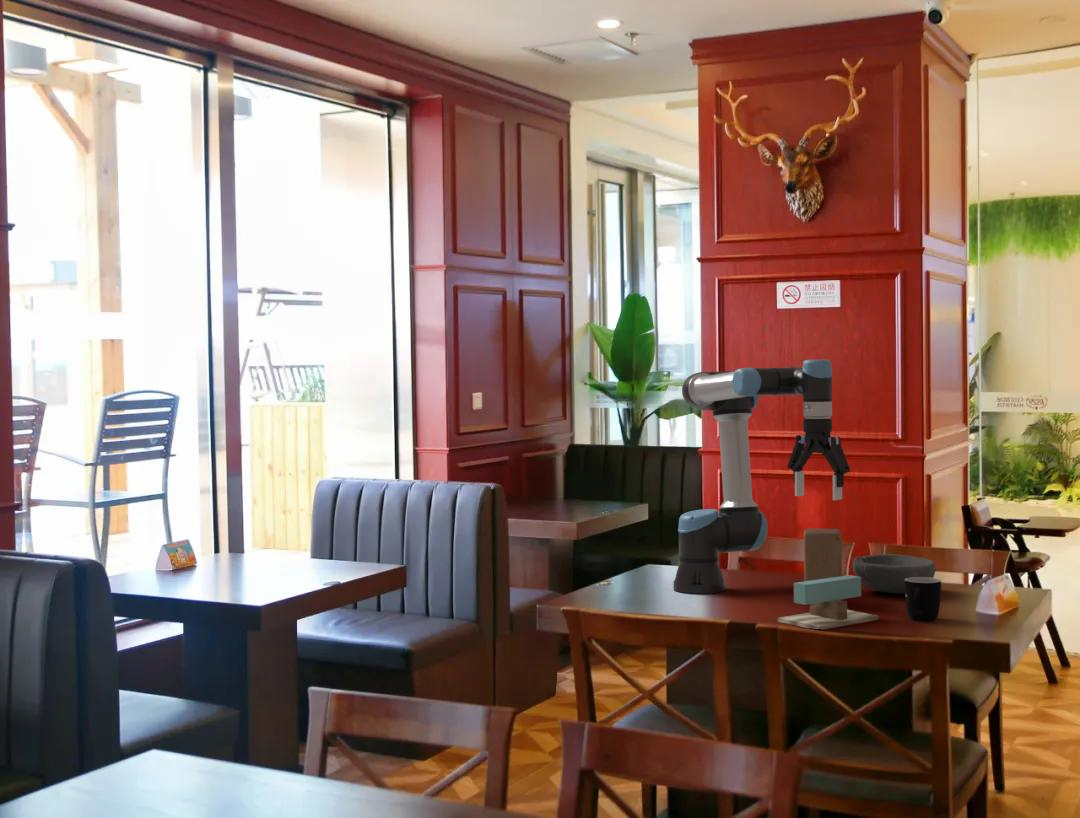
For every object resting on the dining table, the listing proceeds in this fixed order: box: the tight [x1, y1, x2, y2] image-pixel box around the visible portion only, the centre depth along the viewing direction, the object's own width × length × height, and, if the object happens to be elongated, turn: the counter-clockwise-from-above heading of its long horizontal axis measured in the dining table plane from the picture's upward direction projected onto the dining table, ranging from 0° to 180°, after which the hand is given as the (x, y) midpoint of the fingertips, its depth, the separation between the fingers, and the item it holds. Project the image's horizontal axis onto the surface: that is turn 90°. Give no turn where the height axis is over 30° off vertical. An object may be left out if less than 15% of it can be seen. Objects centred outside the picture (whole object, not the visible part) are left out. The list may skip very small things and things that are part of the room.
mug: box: [904, 577, 942, 622], centre depth 321 cm, size 12×9×10 cm
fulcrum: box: [777, 599, 880, 630], centre depth 322 cm, size 14×22×6 cm, turn 124°
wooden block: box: [803, 528, 843, 606], centre depth 348 cm, size 10×10×20 cm
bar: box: [793, 574, 862, 606], centre depth 322 cm, size 4×20×5 cm, turn 123°
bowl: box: [851, 553, 937, 595], centre depth 361 cm, size 23×22×10 cm
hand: (818, 497), depth 334 cm, fingers open, 13 cm apart
